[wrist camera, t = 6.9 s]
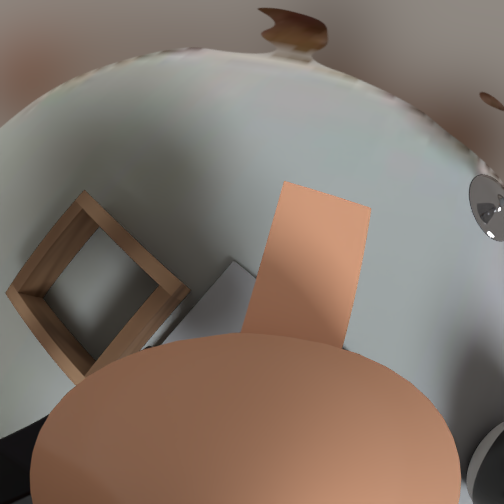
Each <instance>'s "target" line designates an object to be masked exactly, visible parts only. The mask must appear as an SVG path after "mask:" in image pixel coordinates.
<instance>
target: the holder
mask: <svg viewBox="0 0 504 504" xmlns="http://www.w3.org/2000/svg"><path fill="white" fill-rule="evenodd" d="M99 226H100V227H101V228H102V229H103V230H104V231H105V232H106V233H107V234H108V235H109V236H110V237H111V238H112V239H113V240H114V241H115V242H116V243H117V244H118V245H119V246H120V247H121V248H122V249H123V250H124V251H125V252H126V253H127V254H128V255H129V256H130V257H131V258H132V259H133V260H134V261H135V262H136V263H137V264H138V265H139V266H140V267H141V268H142V269H143V270H144V271H145V272H146V273H147V274H148V275H149V276H150V277H151V278H153V279H154V280H155V281H156V282H157V283H158V284H159V286H158V287H157V288H156V289H155V291H154V292H153V293H152V294H151V295H150V296H149V298H148V299H147V300H146V301H145V302H144V304H143V305H142V306H141V307H140V308H139V309H138V311H137V312H136V313H135V314H134V315H133V317H132V318H131V319H130V320H129V321H128V323H127V324H126V325H125V326H124V327H123V329H122V330H121V331H120V332H119V334H118V335H117V336H116V337H115V338H114V340H113V341H112V342H111V343H110V345H109V346H108V347H107V348H106V350H105V351H104V352H103V353H102V354H101V356H100V357H99V358H98V359H97V361H95V360H94V359H93V358H92V357H91V355H90V354H89V353H88V352H87V351H86V350H85V349H84V348H83V347H82V345H81V344H80V343H79V342H78V341H77V340H76V339H75V337H74V336H73V335H72V334H71V333H70V332H69V330H68V329H67V328H66V327H65V326H64V324H63V323H62V322H61V321H60V320H59V318H58V317H57V316H56V315H55V313H54V312H53V311H52V310H51V308H50V307H49V306H48V304H47V303H46V302H45V300H44V299H43V297H44V296H45V294H46V293H47V292H48V290H49V289H50V288H51V286H52V285H53V283H54V282H55V281H56V279H57V278H58V277H59V276H60V274H61V273H62V272H63V270H64V269H65V268H66V266H67V265H68V264H69V263H70V261H71V260H72V259H73V258H74V256H75V255H76V254H77V253H78V251H79V250H80V249H81V248H82V247H83V245H84V244H85V243H86V242H87V241H88V239H89V238H90V237H91V236H92V235H93V233H94V232H95V231H96V230H97V229H98V228H99ZM190 291H191V290H190V289H189V288H188V287H187V286H186V285H185V284H183V283H182V282H181V281H180V280H179V279H178V278H177V277H176V276H175V275H173V274H172V273H171V272H170V271H169V270H168V269H167V268H166V267H165V266H164V265H162V264H161V263H160V262H159V261H158V260H157V259H156V258H155V257H154V256H153V255H152V254H151V253H149V252H148V251H147V250H146V249H145V248H144V247H143V246H142V245H141V244H140V243H139V242H138V241H137V240H136V239H135V238H134V237H133V236H131V235H130V234H129V233H128V232H127V231H126V230H125V229H124V228H123V227H122V226H121V225H120V224H119V223H118V222H117V221H116V220H115V219H114V218H113V217H112V216H111V215H110V214H109V213H108V212H107V211H106V210H105V209H104V208H103V207H102V206H101V205H100V204H99V203H98V202H97V201H95V200H94V199H93V198H92V197H91V196H90V195H89V194H88V193H87V192H86V191H85V190H84V191H83V192H82V193H81V194H80V195H79V197H78V198H77V199H76V200H75V201H74V202H73V203H72V205H71V206H70V207H69V208H68V209H67V210H66V212H65V213H64V214H63V215H62V216H61V218H60V219H59V220H58V221H57V223H56V224H55V225H54V226H53V227H52V229H51V230H50V231H49V233H48V234H47V235H46V236H45V238H44V239H43V240H42V242H41V243H40V244H39V245H38V247H37V248H36V249H35V251H34V252H33V254H32V255H31V256H30V258H29V259H28V260H27V262H26V263H25V265H24V266H23V267H22V269H21V270H20V272H19V273H18V275H17V276H16V278H15V279H14V280H13V282H12V283H11V285H10V287H9V288H8V290H7V291H6V295H7V296H8V298H9V300H10V301H11V303H12V304H13V306H14V307H15V309H16V310H17V312H18V313H19V315H20V316H21V317H22V319H23V320H24V322H25V323H26V325H27V326H28V327H29V329H30V330H31V331H32V333H33V334H34V335H35V337H36V338H37V339H38V341H39V342H40V343H41V345H42V346H43V347H44V349H45V350H46V351H47V352H48V354H49V355H50V356H51V357H52V359H53V360H54V361H55V362H56V363H57V365H58V366H59V367H60V368H61V369H62V371H63V372H64V373H65V374H66V375H67V376H68V377H69V379H70V380H71V381H72V382H73V383H74V384H75V385H78V384H79V383H80V382H81V381H83V380H84V379H85V378H86V377H88V376H89V375H91V374H93V373H94V372H96V371H98V370H100V369H101V368H103V367H105V366H106V365H108V364H110V363H112V362H114V361H116V360H119V359H121V358H124V357H126V356H129V355H131V354H133V353H136V352H138V351H140V350H141V348H142V347H143V346H144V345H145V344H146V343H147V341H148V340H149V339H150V338H151V337H152V335H153V334H154V333H155V332H156V331H157V330H158V328H159V327H160V326H161V325H162V324H163V323H164V321H165V320H166V319H167V318H168V317H169V315H170V314H171V313H172V312H173V311H174V310H175V309H176V307H177V306H178V305H179V304H180V303H181V302H182V300H183V299H184V298H185V297H186V296H187V295H188V293H189V292H190Z"/></svg>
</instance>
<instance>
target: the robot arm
mask: <svg viewBox="0 0 504 504" xmlns="http://www.w3.org/2000/svg"><path fill="white" fill-rule="evenodd" d="M148 348H152V346H148V347H146V348H145V349H148ZM143 350H144V349H143ZM48 416H49V415H47V416H45V417H44V418H42V419H40V420H38V421H36V422H35V423H33V424H31V425H29V426H27V427H25V428H23V429H21V430H19V431H17V432H14V433H12V434H10V435H8V436H6V437H4V438H2V439H0V504H33V502H32V497H31V490H30V467H31V460H32V453H33V449H34V446H35V443H36V440H37V437H38V435H39V432H40V430H41V428H42V426H43V425H44V423H45V421H46V419H47V418H48Z"/></svg>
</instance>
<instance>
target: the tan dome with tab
mask: <svg viewBox="0 0 504 504" xmlns="http://www.w3.org/2000/svg"><path fill="white" fill-rule="evenodd" d="M370 214H371V208H369V207H366V206H363V205H360V204H357V203H354V202H351V201H348V200H345V199H342V198H339V197H336V196H333V195H329V194H326V193H323V192H320V191H316V190H313V189H310V188H306V187H303V186H300V185H296V184H293V183H289V182H286V181H284V184H283V187H282V191H281V194H280V198H279V201H278V205H277V208H276V212H275V215H274V219H273V222H272V226H271V229H270V233H269V236H268V240H267V243H266V247H265V250H264V254H263V257H262V261H261V264H260V267H259V271H258V274H257V278H256V281H255V285H254V288H253V291H252V295H251V298H250V302H249V305H248V309H247V312H246V315H245V319H244V322H243V326H242V329H241V332H235V333H228V334H221V335H214V336H207V337H201V338H194V339H187V340H179V341H174V342H170V343H167V344H163V345H159V346H155V347H152V348H148V349H144V350H141V351H138V352H136V353H133V354H131V355H129V356H126V357H124V358H121V359H119V360H116V361H114V362H112V363H110V364H108V365H106V366H105V367H103V368H101V369H100V370H98V371H96V372H94V373H93V374H91V375H89V376H88V377H86V378H85V379H84V380H83V381H81V382H80V383H79V384H78V385H76V386H75V387H74V388H73V389H72V390H70V391H69V392H68V393H67V394H66V395H65V396H64V397H63V398H62V399H61V401H60V402H59V403H58V404H57V405H56V407H55V408H54V409H53V410H52V411H51V412H50V414H49V416H48V418H47V419H46V421H45V423H44V425H43V426H42V428H41V430H40V432H39V435H38V437H37V440H36V443H35V446H34V449H33V453H32V460H31V467H30V490H31V497H32V502H33V504H458V502H459V498H460V486H461V471H460V461H459V455H458V452H457V448H456V445H455V442H454V438H453V436H452V434H451V432H450V430H449V428H448V426H447V424H446V422H445V420H444V418H443V417H442V416H441V414H440V413H439V412H438V410H437V409H436V408H435V406H434V405H433V404H432V403H431V401H430V400H429V399H428V398H427V397H426V396H425V395H424V394H423V393H421V392H420V391H419V390H418V389H417V388H416V387H415V386H414V385H413V384H412V383H410V382H409V381H407V380H406V379H404V378H403V377H401V376H400V375H398V374H397V373H395V372H394V371H392V370H391V369H389V368H387V367H386V366H383V365H381V364H379V363H377V362H375V361H373V360H370V359H368V358H366V357H364V356H362V355H360V354H357V353H354V352H351V351H347V350H344V349H342V347H343V343H344V339H345V335H346V331H347V327H348V323H349V319H350V315H351V311H352V307H353V302H354V298H355V293H356V289H357V284H358V279H359V275H360V270H361V265H362V259H363V254H364V249H365V243H366V238H367V232H368V226H369V220H370Z"/></svg>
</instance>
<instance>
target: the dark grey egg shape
mask: <svg viewBox="0 0 504 504" xmlns="http://www.w3.org/2000/svg"><path fill="white" fill-rule="evenodd" d="M467 489H468V493H469V495H470V497H471V499H472V501H473V504H504V422H502V423H501V424H499V425H498V426H496V427H495V428H494V429H493V430H491V431H490V432H489V433H488V434H487V435H486V436H485V438H484V439H483V440H482V441H481V443H480V444H479V446H478V447H477V449H476V450H475V452H474V454H473V456H472V459H471V461H470V464H469V467H468V471H467Z"/></svg>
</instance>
